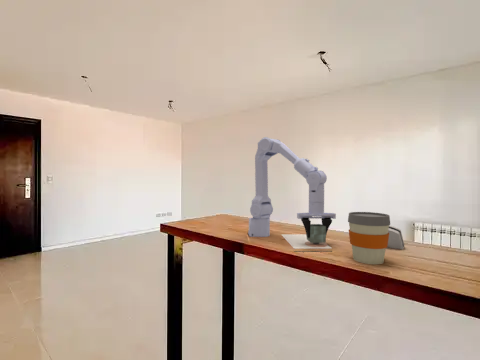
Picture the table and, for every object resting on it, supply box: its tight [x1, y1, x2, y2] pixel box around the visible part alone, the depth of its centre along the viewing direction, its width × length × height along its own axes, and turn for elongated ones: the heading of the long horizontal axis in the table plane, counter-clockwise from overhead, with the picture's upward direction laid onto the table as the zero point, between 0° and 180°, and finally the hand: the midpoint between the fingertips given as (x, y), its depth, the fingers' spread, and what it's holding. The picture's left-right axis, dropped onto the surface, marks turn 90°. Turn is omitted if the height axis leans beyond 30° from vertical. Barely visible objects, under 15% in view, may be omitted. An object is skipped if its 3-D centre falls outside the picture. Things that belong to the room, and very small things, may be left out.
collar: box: [307, 223, 327, 244], centre depth 104 cm, size 6×6×6 cm
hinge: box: [387, 224, 405, 250], centre depth 107 cm, size 17×5×10 cm, turn 49°
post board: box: [280, 233, 333, 253], centre depth 110 cm, size 14×24×6 cm, turn 2°
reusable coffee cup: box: [347, 211, 391, 265], centre depth 88 cm, size 13×13×15 cm
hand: (316, 237), depth 104 cm, fingers closed on collar, 5 cm apart
